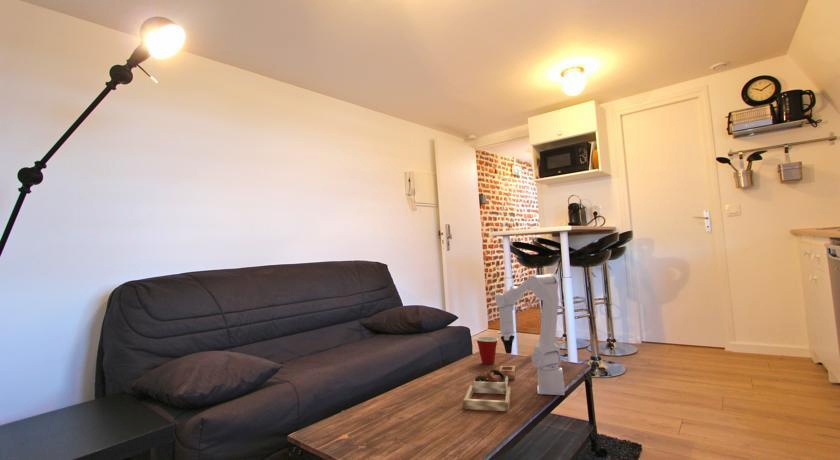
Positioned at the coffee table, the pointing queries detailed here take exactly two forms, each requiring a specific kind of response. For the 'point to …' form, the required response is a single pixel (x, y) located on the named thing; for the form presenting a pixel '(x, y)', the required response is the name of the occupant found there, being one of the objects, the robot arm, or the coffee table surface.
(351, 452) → the coffee table surface
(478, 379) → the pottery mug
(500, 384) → the pull frame
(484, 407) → the frame
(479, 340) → the plastic cup
